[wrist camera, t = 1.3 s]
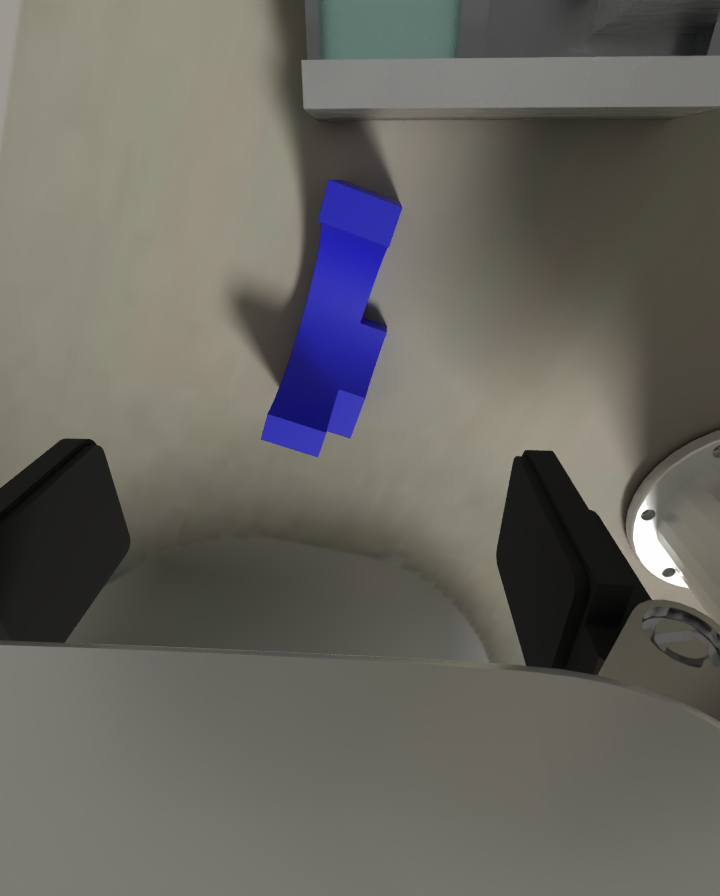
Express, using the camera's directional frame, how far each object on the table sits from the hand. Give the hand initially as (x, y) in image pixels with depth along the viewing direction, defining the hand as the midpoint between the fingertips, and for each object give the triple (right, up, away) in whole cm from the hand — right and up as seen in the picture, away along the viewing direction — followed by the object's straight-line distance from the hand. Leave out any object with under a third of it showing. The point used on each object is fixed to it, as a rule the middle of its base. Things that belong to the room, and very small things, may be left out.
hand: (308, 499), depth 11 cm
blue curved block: (+1, +9, +16) cm, 18 cm away
